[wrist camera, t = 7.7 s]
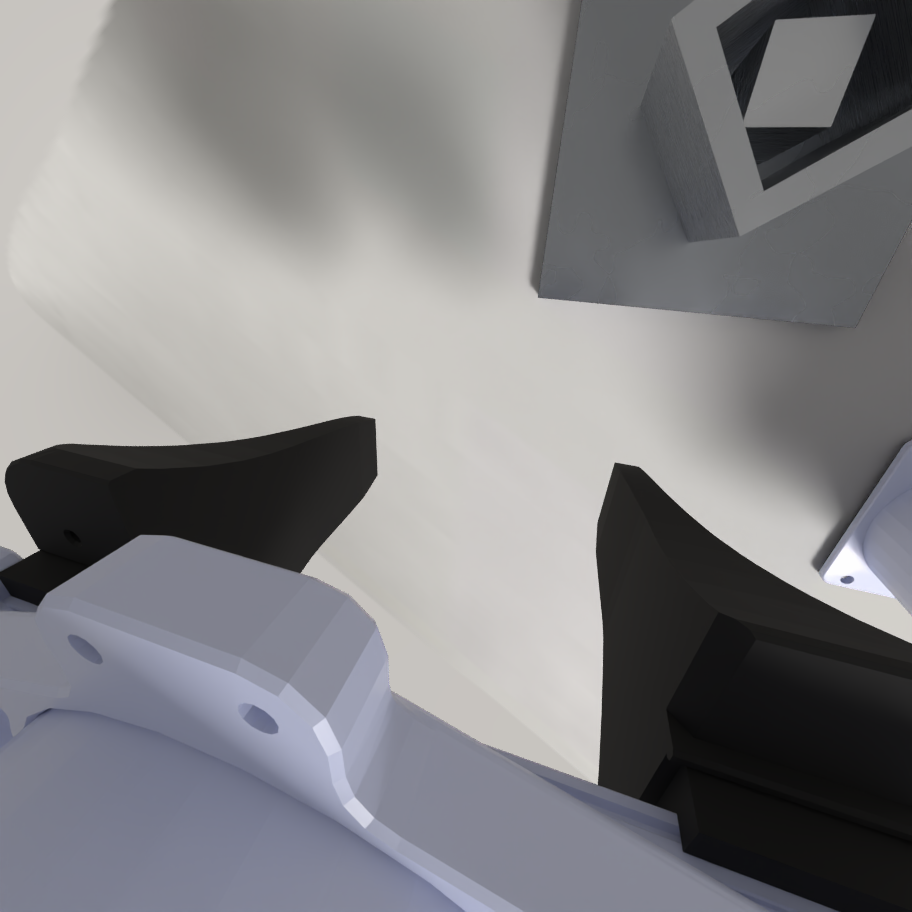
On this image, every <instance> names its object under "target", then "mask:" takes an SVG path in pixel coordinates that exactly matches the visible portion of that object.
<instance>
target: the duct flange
mask: <svg viewBox="0 0 912 912" xmlns="http://www.w3.org/2000/svg"><path fill="white" fill-rule="evenodd" d="M693 1H694V0H582V4H581V11H580V17H579V24H578V31H577V37H576V44H575V51H574V58H573V64H572V71H571V78H570V85H569V91H568V98H567V105H566V112H565V118H564V125H563V132H562V138H561V145H560V152H559V159H558V165H557V172H556V179H555V186H554V192H553V199H552V206H551V212H550V219H549V226H548V233H547V239H546V246H545V253H544V260H543V266H542V273H541V280H540V287H539V293H538V298H548V299H558V300H569V301H579V302H589V303H600V304H610V305H621V306H631V307H642V308H652V309H663V310H673V311H684V312H694V313H705V314H715V315H726V316H736V317H747V318H757V319H768V320H778V321H789V322H799V323H810V324H820V325H831V326H841V327H852V328H856V326H857V324H858V322H859V320H860V318H861V316H862V314H863V312H864V310H865V309H866V307H867V305H868V303H869V301H870V299H871V297H872V295H873V293H874V291H875V289H876V287H877V286H878V284H879V282H880V280H881V278H882V276H883V274H884V272H885V270H886V268H887V266H888V265H889V263H890V261H891V259H892V257H893V255H894V253H895V251H896V249H897V247H898V245H899V244H900V242H901V240H902V238H903V236H904V234H905V232H906V230H907V228H908V226H909V224H910V222H911V221H912V147H910V148H908V149H906V150H904V151H902V152H900V153H898V154H896V155H894V156H892V157H891V158H889V159H887V160H885V161H883V162H881V163H879V164H877V165H875V166H873V167H871V168H870V169H868V170H866V171H864V172H862V173H860V174H858V175H856V176H854V177H852V178H851V179H849V180H847V181H845V182H843V183H841V184H839V185H837V186H835V187H833V188H831V189H830V190H828V191H826V192H824V193H822V194H820V195H818V196H816V197H814V198H812V199H810V200H809V201H807V202H805V203H803V204H801V205H799V206H797V207H795V208H793V209H791V210H789V211H788V212H786V213H784V214H782V215H780V216H778V217H776V218H774V219H772V220H770V221H768V222H767V223H765V224H763V225H761V226H759V227H757V228H755V229H753V230H751V231H749V232H747V233H746V234H744V235H742V236H740V237H732V238H724V239H715V240H707V241H699V242H691V243H688V240H687V237H686V234H685V231H684V228H683V225H682V223H681V220H680V217H679V214H678V211H677V208H676V206H675V203H674V200H673V197H672V194H671V191H670V189H669V186H668V183H667V180H666V177H665V174H664V172H663V169H662V166H661V163H660V160H659V157H658V154H657V152H656V149H655V146H654V143H653V140H652V137H651V135H650V132H649V129H648V126H647V123H646V120H645V118H644V115H643V112H642V109H641V106H640V105H641V103H642V100H643V97H644V94H645V91H646V88H647V86H648V83H649V80H650V77H651V74H652V71H653V69H654V66H655V63H656V60H657V57H658V54H659V52H660V49H661V46H662V43H663V40H664V37H665V35H666V32H667V29H668V26H669V23H670V20H671V19H672V18H673V17H674V16H675V15H677V14H678V13H679V12H680V11H682V10H683V9H684V8H685V7H687V6H688V5H689V4H690V3H692V2H693ZM875 16H876V14H869V15H851V16H833V17H816V18H798V19H780V20H775V21H774V22H773V23H772V25H771V26H770V27H769V28H768V30H767V31H766V32H765V33H764V35H763V36H762V37H761V38H760V40H759V41H758V42H757V43H756V45H755V46H754V47H753V49H752V50H751V51H750V52H749V54H748V55H747V56H746V57H745V59H743V60H742V61H741V62H739V63H738V64H736V65H735V66H733V67H732V68H731V69H729V73H730V77H731V80H732V83H733V87H734V90H735V94H736V97H737V101H738V104H739V107H740V111H741V114H742V118H743V121H744V125H745V128H746V132H747V135H748V138H749V142H750V145H751V149H752V152H753V156H754V159H755V162H756V166H757V169H758V173H759V176H760V180H762V179H764V178H766V177H768V176H769V175H771V174H773V173H775V172H776V171H778V170H780V169H782V168H783V167H785V166H787V165H789V164H790V163H792V162H794V161H796V160H797V159H799V158H801V157H803V156H805V155H806V154H808V153H810V152H812V151H813V150H815V149H817V148H819V147H820V146H822V143H821V139H820V135H819V133H821V132H822V131H824V130H826V129H828V128H830V127H831V126H832V123H833V121H834V118H835V116H836V113H837V111H838V108H839V106H840V103H841V101H842V98H843V96H844V93H845V91H846V88H847V86H848V83H849V81H850V79H851V76H852V74H853V71H854V69H855V66H856V64H857V61H858V59H859V56H860V54H861V51H862V49H863V46H864V44H865V41H866V39H867V36H868V34H869V31H870V29H871V26H872V24H873V21H874V19H875Z"/></svg>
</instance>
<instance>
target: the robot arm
mask: <svg viewBox="0 0 912 912" xmlns="http://www.w3.org/2000/svg"><path fill="white" fill-rule="evenodd" d="M376 477H377V450H376V425H375V419H373V418H367V417H362V416H350V417H344V418H339V419H335V420H330V421H326V422H322V423H318V424H314V425H310V426H306V427H302V428H298V429H293V430H289V431H284V432H280V433H275V434H271V435H266V436H261V437H255V438H249V439H242V440H235V441H228V442H218V443H206V444H194V445H180V446H108V445H84V444H83V445H82V444H62V445H56V446H53V447H50V448H47V449H44V450H42V451H39V452H36V453H34V454H31V455H28V456H26V457H23V458H20V459H18V460H15V461H12V462H11V463H10V465H9V466H8V468H7V470H6V474H5V484H6V488H7V492H8V494H9V497H10V499H11V501H12V503H13V505H14V507H15V509H16V510H17V512H18V514H19V516H20V517H21V519H22V521H23V523H24V524H25V526H26V528H27V530H28V531H29V533H30V535H31V537H32V538H33V540H34V542H35V544H36V545H37V547H38V549H40V551H38V552H36V553H34V554H32V555H30V556H29V557H27V558H25V559H22V558H21V557H20V556H19V555H18V554H17V553H15V552H14V551H12V550H10V549H7V548H4V547H1V546H0V912H912V644H911V643H909V642H907V641H904V640H902V639H900V638H898V637H896V636H893V635H891V634H889V633H887V632H884V631H882V630H880V629H878V628H875V627H873V626H871V625H869V624H866V623H864V622H862V621H860V620H857V619H855V618H853V617H851V616H849V615H847V614H845V613H843V612H841V611H839V610H837V609H835V608H833V607H831V606H829V605H827V604H825V603H824V602H822V601H820V600H818V599H816V598H814V597H812V596H810V595H808V594H806V593H804V592H803V591H801V590H799V589H797V588H795V587H793V586H792V585H790V584H788V583H786V582H784V581H783V580H781V579H779V578H778V577H776V576H774V575H773V574H771V573H769V572H768V571H766V570H765V569H763V568H761V567H760V566H758V565H756V564H755V563H753V562H752V561H750V560H748V559H747V558H745V557H744V556H742V555H741V554H739V553H738V552H737V551H735V550H734V549H732V548H731V547H730V546H728V545H727V544H725V543H724V542H723V541H721V540H720V539H718V538H717V537H716V536H714V535H713V534H712V533H710V532H709V531H708V530H707V529H705V528H704V527H703V526H702V525H701V524H699V523H698V522H697V521H696V520H695V519H694V518H692V517H691V516H690V515H689V514H688V513H687V512H685V511H684V510H683V509H682V508H681V507H680V506H679V505H678V504H677V503H676V502H675V501H674V500H673V499H672V498H670V497H669V496H668V495H667V494H666V493H665V492H664V491H663V490H662V489H661V488H660V487H659V486H658V485H657V484H656V483H655V482H654V481H653V480H652V479H651V478H650V477H649V476H648V475H647V474H646V473H645V472H644V471H643V470H642V469H641V468H640V467H637V466H631V465H626V464H620V463H615V464H614V467H613V471H612V474H611V478H610V481H609V485H608V488H607V492H606V495H605V499H604V502H603V506H602V509H601V513H600V516H599V519H598V524H597V541H596V558H597V569H598V580H599V590H600V600H601V610H602V620H603V686H602V717H601V738H600V760H599V777H598V785H596V784H593V783H591V782H588V781H585V780H582V779H580V778H577V777H574V776H571V775H569V774H566V773H563V772H560V771H558V770H554V769H552V768H549V767H546V766H544V765H541V764H538V763H535V762H533V761H530V760H527V759H524V758H522V757H519V756H516V755H513V754H511V753H507V752H505V751H502V750H500V749H496V748H494V747H491V746H488V745H486V744H483V743H481V742H479V741H477V740H475V739H474V738H472V737H470V736H469V735H467V734H465V733H463V732H462V731H460V730H458V729H457V728H455V727H453V726H451V725H450V724H448V723H446V722H445V721H443V720H441V719H439V718H438V717H436V716H434V715H433V714H431V713H429V712H428V711H426V710H424V709H422V708H421V707H419V706H417V705H415V704H414V703H412V702H410V701H409V700H407V699H405V698H403V697H402V696H400V695H398V694H397V693H395V692H393V691H391V690H390V685H389V664H388V654H387V651H386V649H385V646H384V643H383V641H382V638H381V635H380V632H379V630H378V627H377V625H376V622H375V620H374V619H373V618H372V617H370V615H369V614H368V613H366V611H365V610H364V609H363V608H362V607H361V606H360V605H359V604H358V603H357V602H356V601H355V600H354V599H353V598H352V597H351V596H350V595H349V594H347V593H345V592H343V591H341V590H339V589H337V588H335V587H333V586H331V585H329V584H327V583H325V582H323V581H321V580H319V579H317V578H314V577H310V576H307V575H303V574H300V573H301V572H302V570H303V569H304V567H305V566H306V564H307V563H308V562H309V560H310V559H311V557H312V556H313V555H314V553H315V552H316V551H317V550H318V549H319V547H320V546H321V545H322V544H323V543H324V542H325V541H326V539H327V538H328V537H329V536H330V535H331V534H332V533H333V532H334V530H335V529H336V528H337V527H338V526H339V525H340V524H341V523H342V522H343V520H344V519H345V518H346V517H347V516H348V515H349V514H350V513H351V511H352V510H353V509H354V508H355V507H356V506H357V504H358V503H359V502H360V501H361V500H362V499H363V497H364V496H365V494H366V493H367V491H368V490H369V488H370V487H371V485H372V483H373V482H374V480H375V478H376ZM819 575H820V577H821V578H822V579H823V580H824V581H825V582H826V583H829V584H832V585H837V586H841V587H846V588H850V589H855V590H859V591H864V592H868V593H873V594H877V595H882V596H886V597H891V598H895V599H897V600H898V601H899V602H900V603H901V605H902V606H903V607H904V608H905V609H906V610H907V611H908V612H909V614H910V615H911V616H912V440H911V441H909V442H907V443H906V444H905V445H904V446H903V447H902V448H901V450H900V451H899V453H898V454H897V456H896V457H895V459H894V460H893V462H892V463H891V465H890V466H889V468H888V469H887V471H886V472H885V474H884V475H883V477H882V478H881V480H880V481H879V483H878V484H877V486H876V487H875V489H874V490H873V492H872V493H871V494H870V496H869V497H868V499H867V500H866V502H865V503H864V505H863V506H862V508H861V509H860V511H859V512H858V514H857V515H856V517H855V518H854V520H853V521H852V523H851V524H850V526H849V527H848V529H847V530H846V532H845V533H844V535H843V536H842V538H841V539H840V541H839V542H838V544H837V545H836V547H835V548H834V550H833V551H832V553H831V554H830V556H829V557H828V559H827V560H826V562H825V563H824V565H823V566H822V568H821V569H820V571H819ZM844 576H848V577H846V578H842V577H844Z"/></svg>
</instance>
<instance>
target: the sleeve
mask: <svg viewBox="0 0 912 912" xmlns="http://www.w3.org/2000/svg"><path fill="white" fill-rule="evenodd" d="M869 14H876V16H875V19H874V21H873V24H872V26H871V29H870V31H869V34H868V36H867V39H866V41H865V44H864V46H863V49H862V51H861V54H860V56H859V59H858V61H857V64H856V66H855V69H854V71H853V74H852V76H851V79H850V81H849V83H848V86H847V88H846V91H845V93H844V96H843V98H842V101H841V103H840V106H839V108H838V111H837V113H836V116H835V118H834V121H833V123H832V126H831V127H830V128H828V129H826V130H824V131H822V132H821V133H819V135H820V139H821V143H822V146H820V147H819V148H817V149H815V150H813V151H812V152H810V153H808V154H806V155H805V156H803V157H801V158H799V159H797V160H796V161H794V162H792V163H790V164H789V165H787V166H785V167H783V168H782V169H780V170H778V171H776V172H775V173H773V174H771V175H769V176H768V177H766V178H764V179H762V180H760V176H759V173H758V169H757V166H756V162H755V159H754V156H753V152H752V149H751V145H750V142H749V138H748V135H747V132H746V128H745V125H744V121H743V118H742V114H741V111H740V107H739V104H738V101H737V97H736V94H735V90H734V87H733V83H732V80H731V77H730V73H729V69H731V68H732V67H733V66H735V65H736V64H738V63H739V62H741V61H742V60H743V59H745V57H746V56H747V55H748V54H749V52H750V51H751V50H752V49H753V47H754V46H755V45H756V43H757V42H758V41H759V40H760V38H761V37H762V36H763V35H764V33H765V32H766V31H767V30H768V28H769V27H770V26H771V25H772V23H773V22H774V21H775V20H780V19H798V18H816V17H833V16H851V15H869ZM640 106H641V109H642V112H643V115H644V118H645V120H646V123H647V126H648V129H649V132H650V135H651V137H652V140H653V143H654V146H655V149H656V152H657V154H658V157H659V160H660V163H661V166H662V169H663V172H664V174H665V177H666V180H667V183H668V186H669V189H670V191H671V194H672V197H673V200H674V203H675V206H676V208H677V211H678V214H679V217H680V220H681V223H682V225H683V228H684V231H685V234H686V237H687V240H688V243H691V242H699V241H707V240H715V239H724V238H732V237H740V236H742V235H744V234H746V233H747V232H749V231H751V230H753V229H755V228H757V227H759V226H761V225H763V224H765V223H767V222H768V221H770V220H772V219H774V218H776V217H778V216H780V215H782V214H784V213H786V212H788V211H789V210H791V209H793V208H795V207H797V206H799V205H801V204H803V203H805V202H807V201H809V200H810V199H812V198H814V197H816V196H818V195H820V194H822V193H824V192H826V191H828V190H830V189H831V188H833V187H835V186H837V185H839V184H841V183H843V182H845V181H847V180H849V179H851V178H852V177H854V176H856V175H858V174H860V173H862V172H864V171H866V170H868V169H870V168H871V167H873V166H875V165H877V164H879V163H881V162H883V161H885V160H887V159H889V158H891V157H892V156H894V155H896V154H898V153H900V152H902V151H904V150H906V149H908V148H910V147H912V0H694V1H693V2H692V3H690V4H689V5H688V6H687V7H685V8H684V9H683V10H682V11H680V12H679V13H678V14H677V15H675V16H674V17H673V18H672V19H671V20H670V23H669V26H668V29H667V32H666V35H665V37H664V40H663V43H662V46H661V49H660V52H659V54H658V57H657V60H656V63H655V66H654V69H653V71H652V74H651V77H650V80H649V83H648V86H647V88H646V91H645V94H644V97H643V100H642V103H641V105H640Z"/></svg>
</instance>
